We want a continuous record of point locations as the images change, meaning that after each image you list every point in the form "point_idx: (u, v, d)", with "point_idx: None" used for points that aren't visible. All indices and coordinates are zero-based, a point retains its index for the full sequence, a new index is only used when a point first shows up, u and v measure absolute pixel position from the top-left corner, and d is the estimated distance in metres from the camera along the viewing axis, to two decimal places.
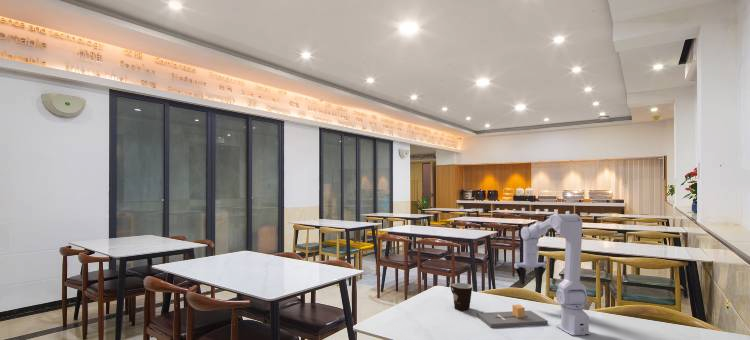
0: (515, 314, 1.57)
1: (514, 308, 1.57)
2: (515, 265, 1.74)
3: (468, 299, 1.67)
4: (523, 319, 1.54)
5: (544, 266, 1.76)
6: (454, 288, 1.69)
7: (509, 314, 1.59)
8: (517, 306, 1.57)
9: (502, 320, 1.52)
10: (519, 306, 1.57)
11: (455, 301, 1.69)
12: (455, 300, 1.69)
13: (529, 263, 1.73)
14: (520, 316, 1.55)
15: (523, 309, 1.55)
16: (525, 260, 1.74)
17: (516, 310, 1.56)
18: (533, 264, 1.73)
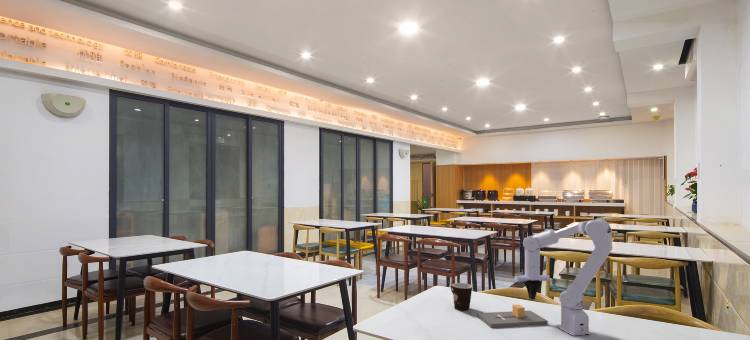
0: (515, 314, 1.57)
1: (514, 308, 1.57)
2: (516, 278, 1.57)
3: (468, 299, 1.67)
4: (523, 319, 1.54)
5: (548, 279, 1.59)
6: (454, 288, 1.69)
7: (509, 314, 1.59)
8: (517, 306, 1.57)
9: (502, 320, 1.52)
10: (519, 306, 1.57)
11: (455, 301, 1.69)
12: (455, 300, 1.69)
13: (531, 276, 1.56)
14: (520, 316, 1.55)
15: (523, 309, 1.55)
16: (527, 273, 1.57)
17: (516, 310, 1.56)
18: (536, 277, 1.56)
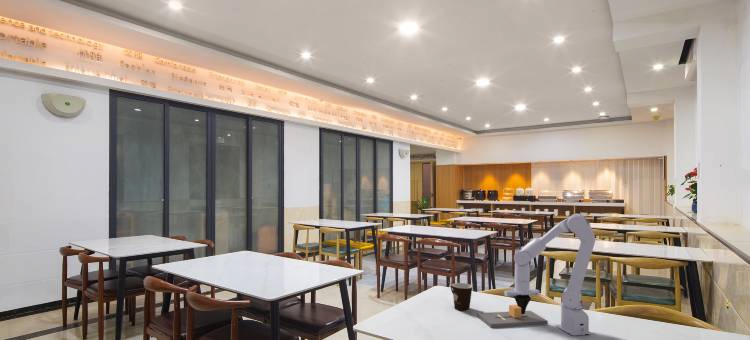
0: (512, 314, 1.56)
1: (511, 308, 1.57)
2: (505, 293, 1.56)
3: (468, 299, 1.67)
4: (523, 319, 1.54)
5: (538, 294, 1.58)
6: (454, 288, 1.69)
7: None
8: (514, 306, 1.57)
9: (502, 320, 1.52)
10: (516, 306, 1.57)
11: (455, 301, 1.69)
12: (455, 300, 1.69)
13: (521, 291, 1.55)
14: (517, 316, 1.55)
15: (520, 309, 1.55)
16: (516, 287, 1.56)
17: (513, 310, 1.56)
18: (525, 292, 1.55)
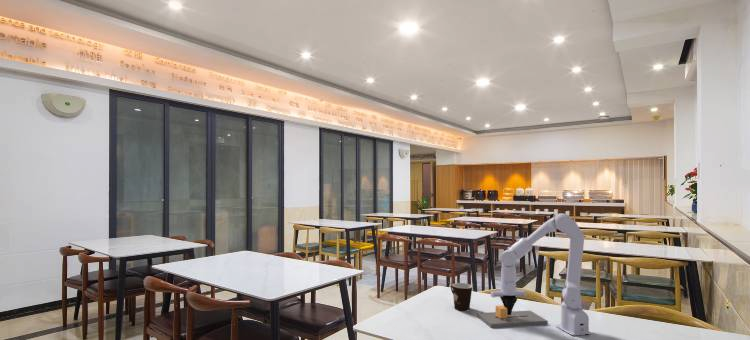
0: (498, 315, 1.55)
1: (497, 309, 1.56)
2: (491, 293, 1.55)
3: (468, 299, 1.67)
4: (523, 319, 1.54)
5: (524, 294, 1.57)
6: (454, 288, 1.69)
7: None
8: (500, 307, 1.56)
9: (502, 320, 1.52)
10: (502, 307, 1.56)
11: (455, 301, 1.69)
12: (455, 300, 1.69)
13: (507, 291, 1.54)
14: (503, 317, 1.54)
15: (506, 310, 1.54)
16: (503, 288, 1.55)
17: (499, 311, 1.55)
18: (511, 293, 1.54)
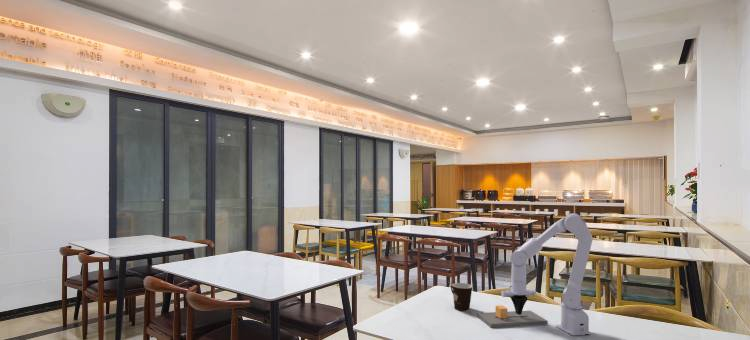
0: (498, 315, 1.55)
1: (497, 309, 1.56)
2: (502, 293, 1.56)
3: (468, 299, 1.67)
4: (523, 319, 1.54)
5: (534, 294, 1.58)
6: (454, 288, 1.69)
7: (509, 314, 1.59)
8: (500, 307, 1.56)
9: (502, 320, 1.52)
10: (502, 307, 1.56)
11: (455, 301, 1.69)
12: (455, 300, 1.69)
13: (517, 291, 1.55)
14: (503, 317, 1.54)
15: (506, 310, 1.54)
16: (513, 287, 1.56)
17: (499, 311, 1.55)
18: (522, 292, 1.54)
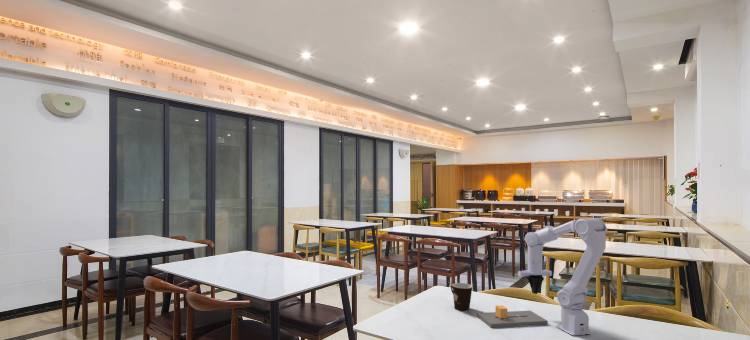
0: (498, 315, 1.55)
1: (497, 309, 1.56)
2: (519, 273, 1.62)
3: (468, 299, 1.67)
4: (523, 319, 1.54)
5: (550, 274, 1.63)
6: (454, 288, 1.69)
7: (509, 314, 1.59)
8: (500, 307, 1.56)
9: (502, 320, 1.52)
10: (502, 307, 1.56)
11: (455, 301, 1.69)
12: (455, 300, 1.69)
13: (534, 271, 1.60)
14: (503, 317, 1.54)
15: (506, 310, 1.54)
16: (530, 268, 1.62)
17: (499, 311, 1.55)
18: (538, 272, 1.60)
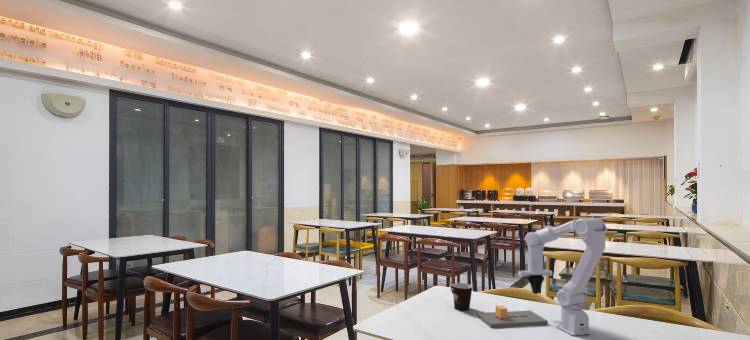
0: (498, 315, 1.55)
1: (497, 309, 1.56)
2: (519, 273, 1.62)
3: (468, 299, 1.67)
4: (523, 319, 1.54)
5: (550, 274, 1.63)
6: (454, 288, 1.69)
7: (509, 314, 1.59)
8: (500, 307, 1.56)
9: (502, 320, 1.52)
10: (502, 307, 1.56)
11: (455, 301, 1.69)
12: (455, 300, 1.69)
13: (534, 271, 1.61)
14: (503, 317, 1.54)
15: (506, 310, 1.54)
16: (530, 268, 1.62)
17: (499, 311, 1.55)
18: (539, 272, 1.60)
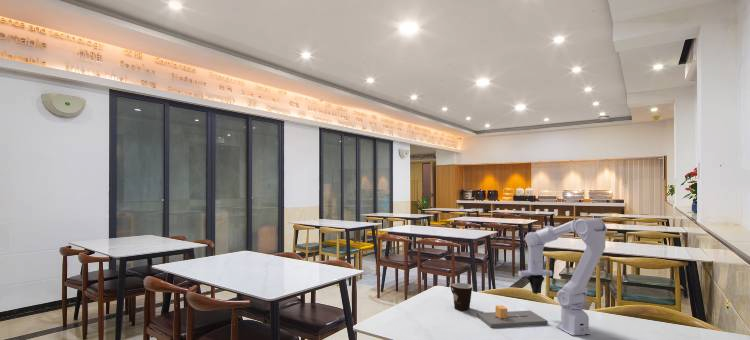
0: (498, 315, 1.55)
1: (497, 309, 1.56)
2: (519, 273, 1.62)
3: (468, 299, 1.67)
4: (523, 319, 1.54)
5: (550, 274, 1.63)
6: (454, 288, 1.69)
7: (509, 314, 1.59)
8: (500, 307, 1.56)
9: (502, 320, 1.52)
10: (502, 307, 1.56)
11: (455, 301, 1.69)
12: (455, 300, 1.69)
13: (534, 271, 1.61)
14: (503, 317, 1.54)
15: (506, 310, 1.54)
16: (530, 268, 1.62)
17: (499, 311, 1.55)
18: (539, 272, 1.60)
